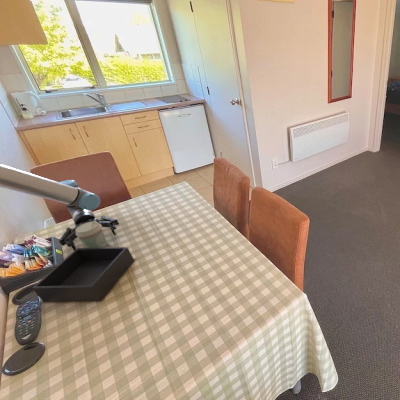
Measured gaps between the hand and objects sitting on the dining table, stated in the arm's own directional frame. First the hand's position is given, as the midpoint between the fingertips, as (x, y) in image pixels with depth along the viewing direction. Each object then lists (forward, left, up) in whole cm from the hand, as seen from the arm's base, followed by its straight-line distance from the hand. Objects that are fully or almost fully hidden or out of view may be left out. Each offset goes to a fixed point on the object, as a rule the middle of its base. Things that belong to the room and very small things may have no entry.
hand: (94, 240), depth 109 cm
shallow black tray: (+7, -15, -7) cm, 18 cm away
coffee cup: (-2, +2, -7) cm, 7 cm away
